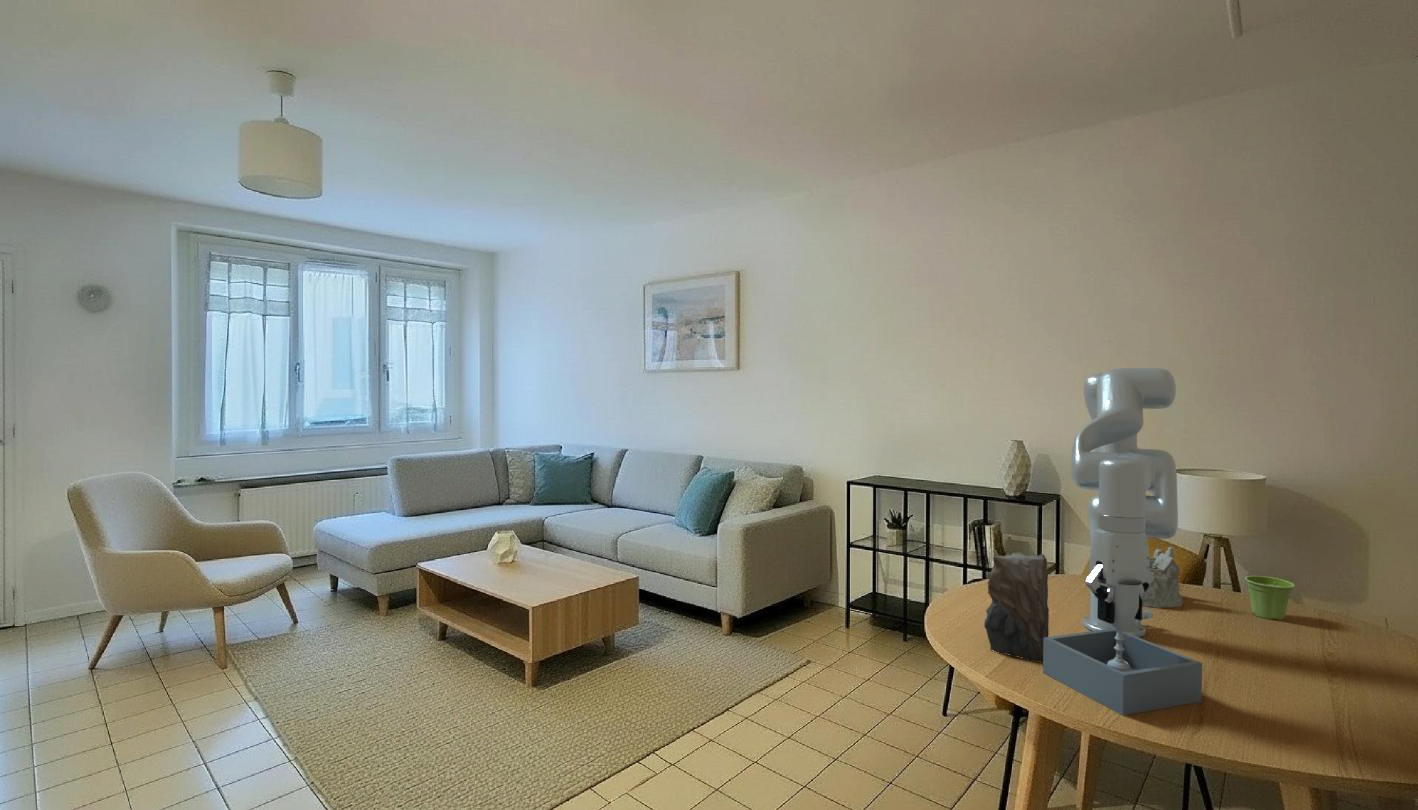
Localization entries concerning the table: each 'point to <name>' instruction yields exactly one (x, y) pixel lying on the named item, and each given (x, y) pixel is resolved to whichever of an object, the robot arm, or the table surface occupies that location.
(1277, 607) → the plant pot
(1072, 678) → the bin
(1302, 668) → the table surface
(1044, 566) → the grey faceted rock
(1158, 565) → the ceramic cottage
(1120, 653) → the chalice
